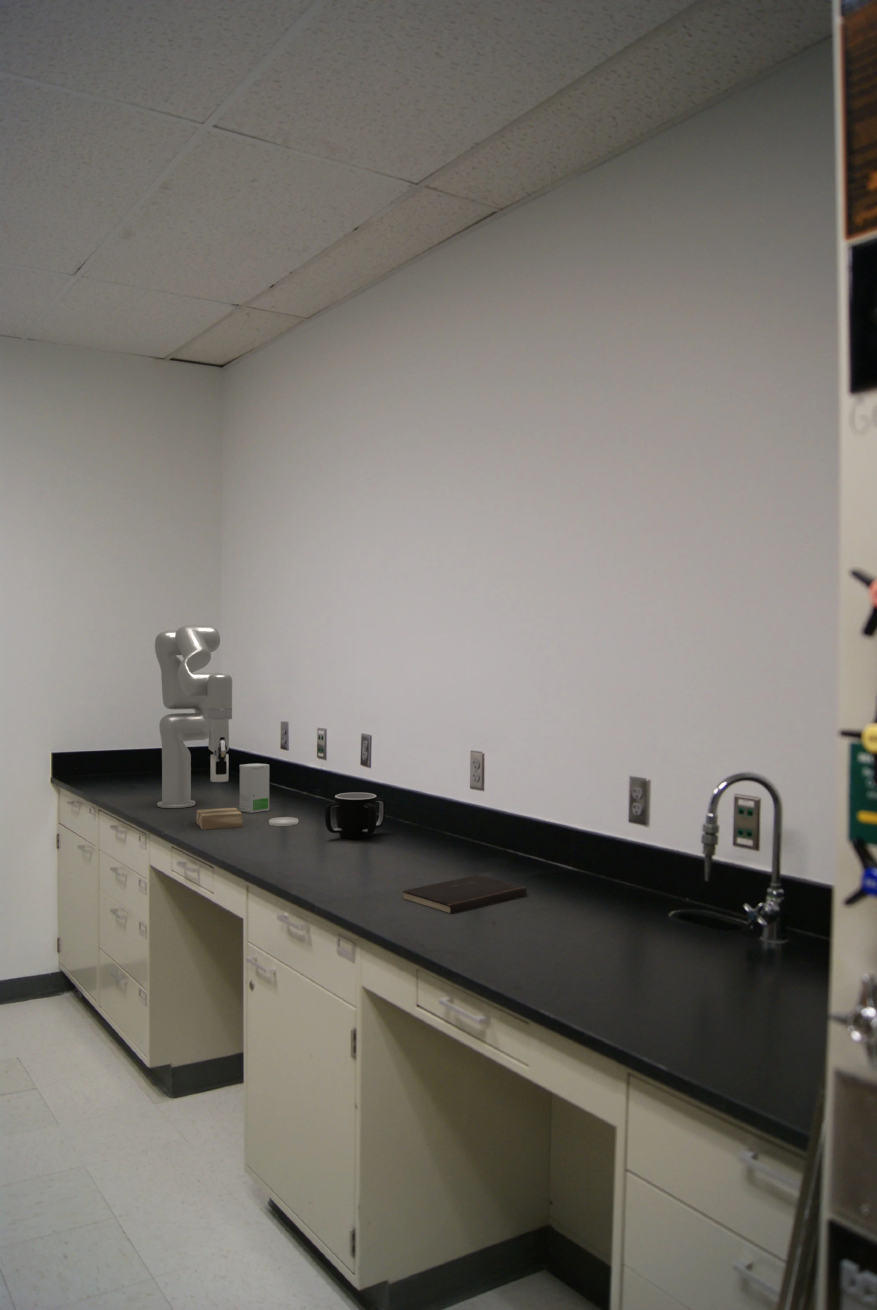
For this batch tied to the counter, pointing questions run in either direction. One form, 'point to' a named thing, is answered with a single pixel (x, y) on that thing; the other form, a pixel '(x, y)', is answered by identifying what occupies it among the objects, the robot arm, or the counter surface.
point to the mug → (355, 815)
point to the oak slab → (219, 818)
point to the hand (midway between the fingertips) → (219, 772)
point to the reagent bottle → (213, 769)
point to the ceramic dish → (283, 821)
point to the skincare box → (254, 788)
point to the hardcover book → (464, 893)
